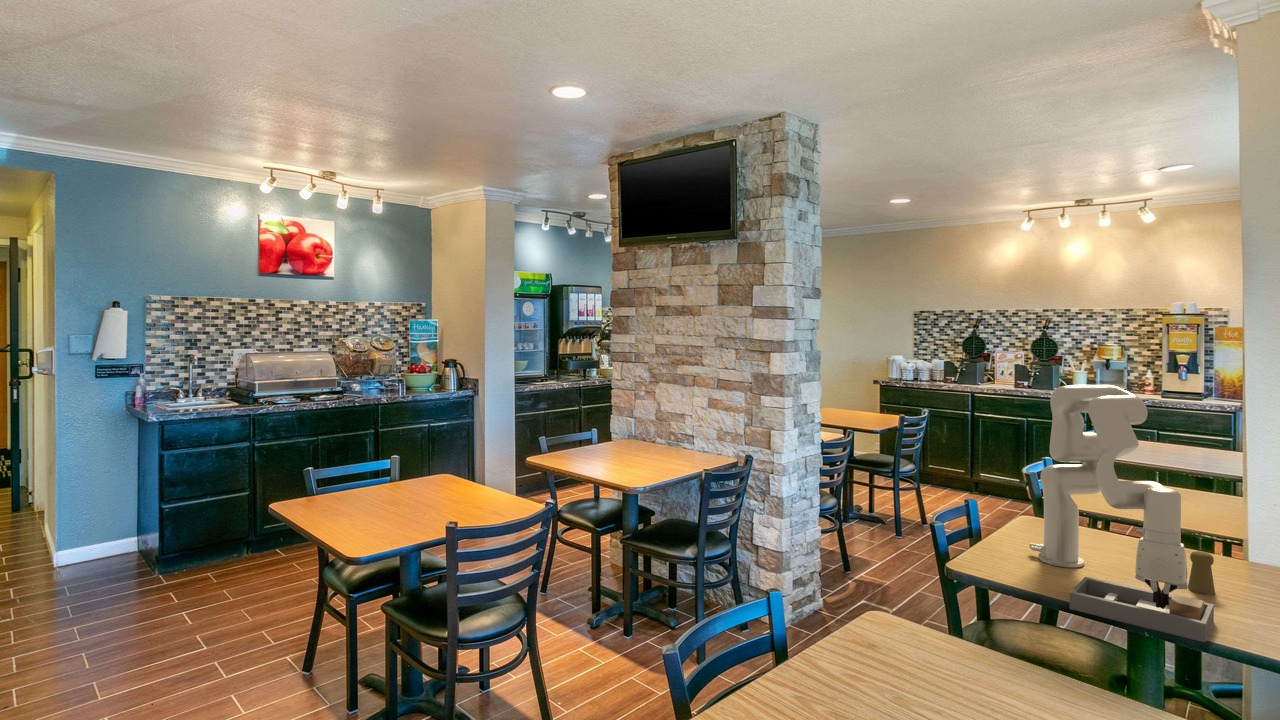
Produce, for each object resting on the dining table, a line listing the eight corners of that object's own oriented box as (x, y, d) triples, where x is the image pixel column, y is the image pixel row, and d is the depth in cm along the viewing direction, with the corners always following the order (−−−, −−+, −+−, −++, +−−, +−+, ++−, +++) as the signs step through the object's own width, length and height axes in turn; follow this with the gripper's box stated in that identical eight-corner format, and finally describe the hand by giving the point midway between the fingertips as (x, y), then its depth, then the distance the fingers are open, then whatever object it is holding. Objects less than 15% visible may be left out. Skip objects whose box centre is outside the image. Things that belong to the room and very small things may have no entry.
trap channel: (1069, 608, 179) (1069, 592, 179) (1085, 592, 190) (1085, 576, 190) (1205, 642, 158) (1205, 624, 158) (1213, 621, 170) (1213, 604, 169)
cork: (1220, 595, 186) (1221, 556, 186) (1195, 593, 187) (1196, 555, 187) (1206, 587, 192) (1207, 549, 192) (1182, 585, 193) (1183, 548, 193)
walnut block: (1169, 618, 167) (1169, 601, 167) (1173, 611, 171) (1173, 594, 171) (1200, 625, 163) (1200, 607, 163) (1203, 618, 167) (1204, 600, 167)
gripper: (1123, 533, 173) (1122, 602, 174) (1197, 546, 162) (1196, 619, 163) (1129, 527, 178) (1128, 594, 179) (1201, 539, 167) (1200, 610, 168)
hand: (1160, 606), depth 171 cm, fingers closed
